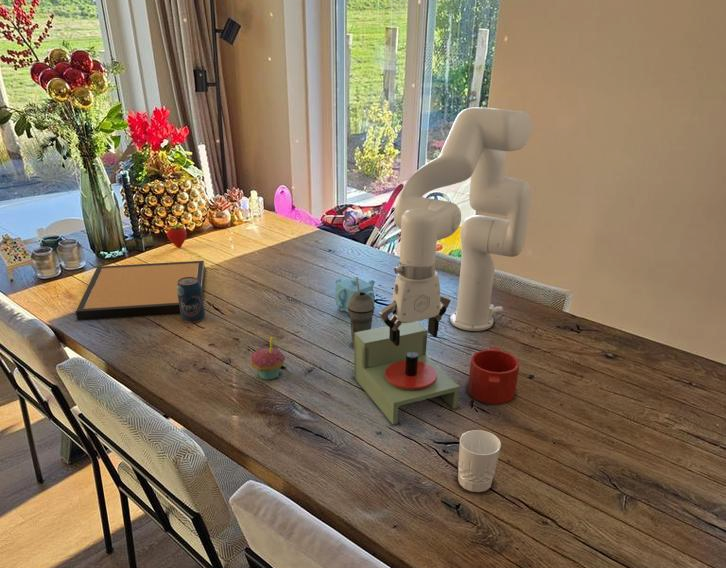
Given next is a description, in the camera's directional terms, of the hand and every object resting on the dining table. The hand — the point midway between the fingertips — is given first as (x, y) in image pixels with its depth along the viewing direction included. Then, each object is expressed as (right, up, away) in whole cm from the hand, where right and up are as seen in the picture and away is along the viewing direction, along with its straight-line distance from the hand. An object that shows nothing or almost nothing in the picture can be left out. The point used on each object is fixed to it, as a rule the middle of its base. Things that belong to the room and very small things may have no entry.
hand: (413, 338), depth 143 cm
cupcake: (-36, -8, +17) cm, 40 cm away
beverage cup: (-12, 0, +31) cm, 33 cm away
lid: (0, -8, +5) cm, 10 cm away
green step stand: (-2, -12, +11) cm, 16 cm away
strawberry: (-81, +42, +94) cm, 131 cm away
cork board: (-82, +20, +60) cm, 103 cm away
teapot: (-14, +13, +50) cm, 53 cm away
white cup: (+11, -30, -17) cm, 36 cm away
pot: (+20, -12, +12) cm, 26 cm away
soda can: (-62, +9, +44) cm, 77 cm away
